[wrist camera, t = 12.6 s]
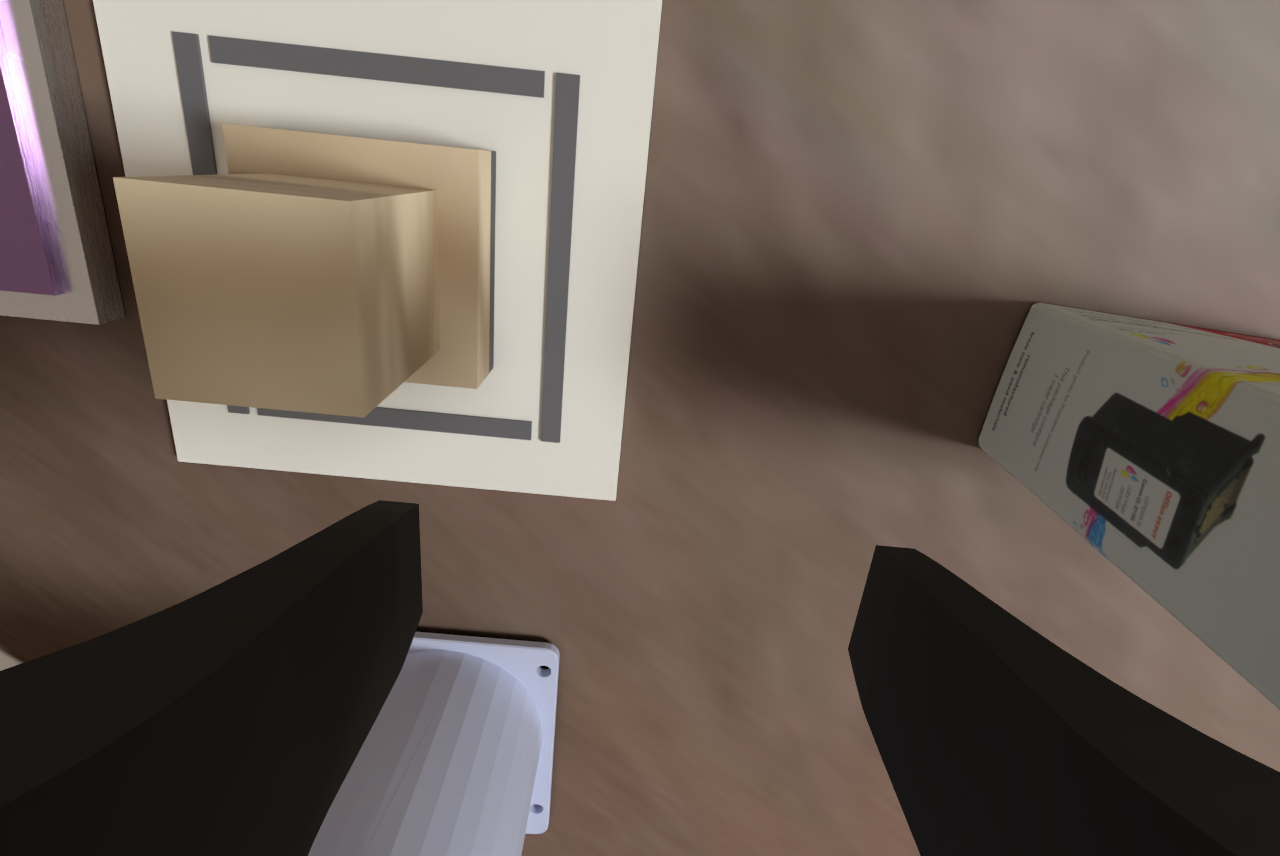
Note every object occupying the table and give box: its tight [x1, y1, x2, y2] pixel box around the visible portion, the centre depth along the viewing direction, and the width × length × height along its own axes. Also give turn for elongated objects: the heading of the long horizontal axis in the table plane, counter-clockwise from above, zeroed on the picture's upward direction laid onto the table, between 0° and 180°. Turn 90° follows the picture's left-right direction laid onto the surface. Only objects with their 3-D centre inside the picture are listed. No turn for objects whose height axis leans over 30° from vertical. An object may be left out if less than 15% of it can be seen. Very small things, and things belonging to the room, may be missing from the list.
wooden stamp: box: [113, 123, 496, 418], centre depth 15 cm, size 6×6×7 cm
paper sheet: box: [93, 0, 662, 501], centre depth 19 cm, size 14×14×1 cm
